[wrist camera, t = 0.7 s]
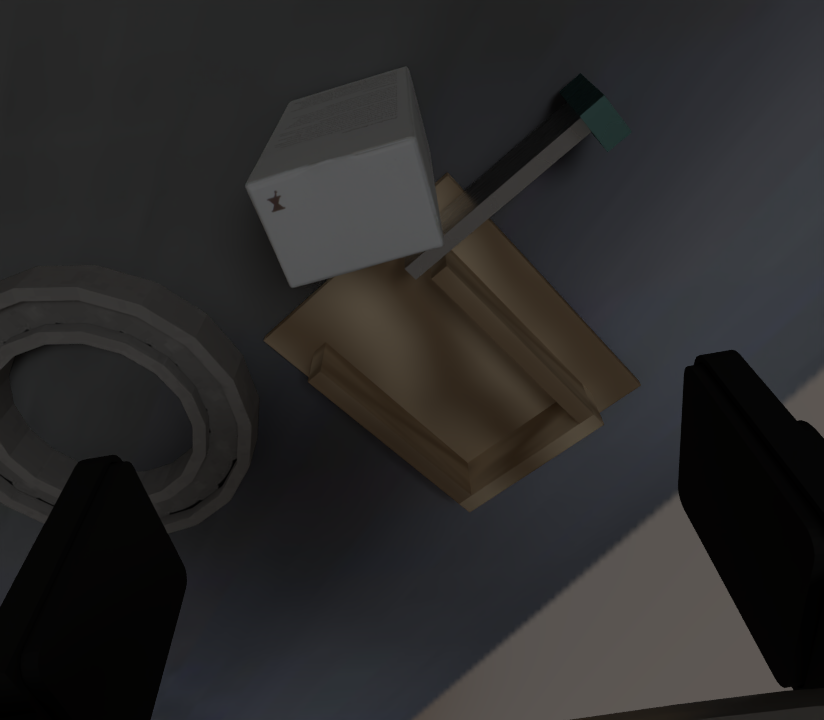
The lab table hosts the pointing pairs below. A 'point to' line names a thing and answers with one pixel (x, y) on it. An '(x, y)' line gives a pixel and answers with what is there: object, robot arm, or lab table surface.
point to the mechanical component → (153, 349)
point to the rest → (457, 361)
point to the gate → (526, 165)
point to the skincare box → (348, 180)
